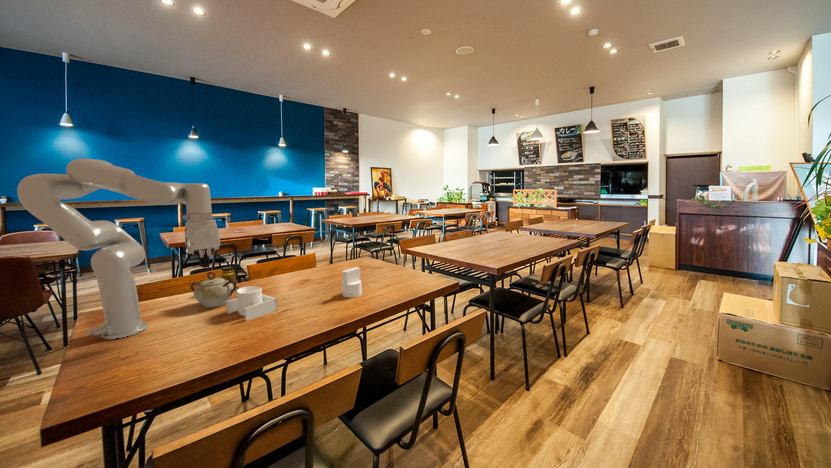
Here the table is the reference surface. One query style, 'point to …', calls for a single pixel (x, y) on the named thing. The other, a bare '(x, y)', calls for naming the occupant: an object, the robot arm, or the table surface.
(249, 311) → the box
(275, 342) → the table surface
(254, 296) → the cup
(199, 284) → the sugar bowl
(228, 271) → the condiment
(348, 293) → the base with upright slab
